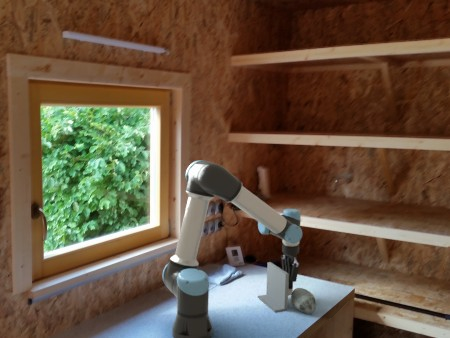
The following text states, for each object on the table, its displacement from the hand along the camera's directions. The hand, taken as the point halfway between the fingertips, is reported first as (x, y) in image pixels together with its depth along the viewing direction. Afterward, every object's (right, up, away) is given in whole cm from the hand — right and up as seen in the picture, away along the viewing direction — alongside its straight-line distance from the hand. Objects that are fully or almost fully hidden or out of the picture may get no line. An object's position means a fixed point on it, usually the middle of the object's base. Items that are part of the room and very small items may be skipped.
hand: (288, 294), depth 208 cm
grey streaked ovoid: (+4, -4, -11) cm, 12 cm away
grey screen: (-8, -2, -6) cm, 10 cm away
